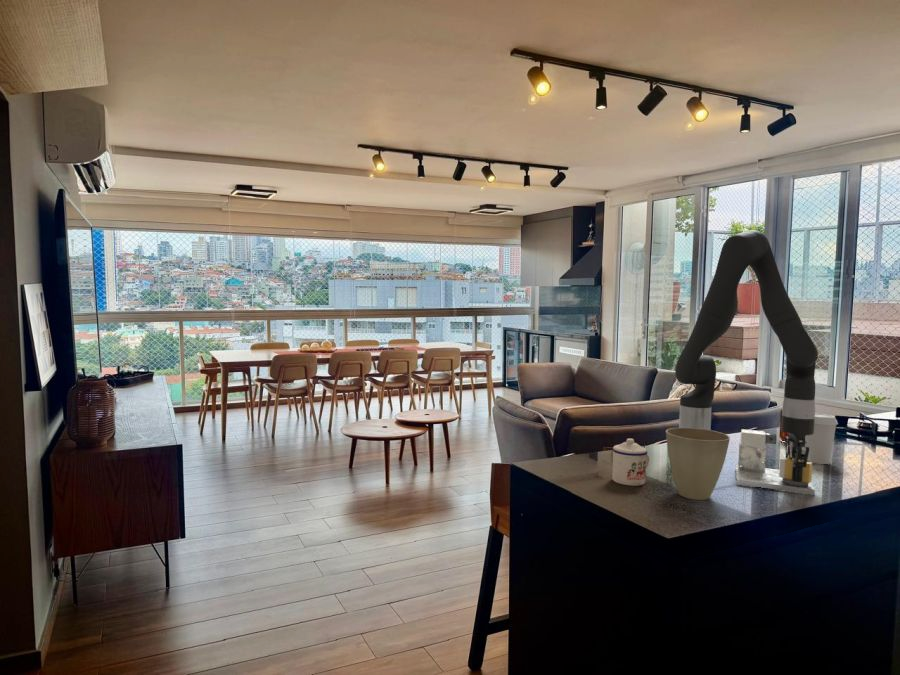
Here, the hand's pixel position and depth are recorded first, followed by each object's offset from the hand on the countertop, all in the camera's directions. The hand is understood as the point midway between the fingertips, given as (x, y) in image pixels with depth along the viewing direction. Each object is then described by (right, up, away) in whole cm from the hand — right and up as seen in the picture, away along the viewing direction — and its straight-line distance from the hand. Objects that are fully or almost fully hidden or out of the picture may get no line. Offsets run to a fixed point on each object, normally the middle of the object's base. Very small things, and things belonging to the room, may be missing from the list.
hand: (794, 478), depth 157 cm
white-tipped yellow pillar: (0, -1, 0) cm, 1 cm away
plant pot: (-30, -3, -8) cm, 31 cm away
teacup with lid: (-42, -2, +4) cm, 42 cm away
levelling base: (-2, -2, +7) cm, 7 cm away
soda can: (+33, -1, +60) cm, 68 cm away
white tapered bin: (+25, -2, +30) cm, 39 cm away
